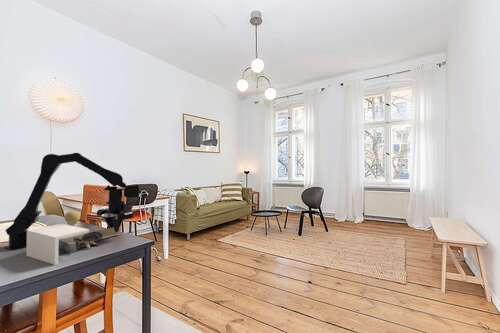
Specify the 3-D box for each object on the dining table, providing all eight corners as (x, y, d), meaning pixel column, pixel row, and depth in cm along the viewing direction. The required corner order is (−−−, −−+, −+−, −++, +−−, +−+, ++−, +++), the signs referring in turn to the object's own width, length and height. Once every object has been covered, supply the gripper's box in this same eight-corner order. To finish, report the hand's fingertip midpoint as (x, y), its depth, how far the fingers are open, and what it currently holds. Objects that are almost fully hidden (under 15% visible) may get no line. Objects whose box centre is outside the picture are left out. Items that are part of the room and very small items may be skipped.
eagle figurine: (84, 250, 94) (106, 240, 102) (75, 234, 95) (98, 225, 103) (76, 257, 98) (98, 246, 106) (67, 241, 98) (90, 232, 106)
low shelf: (26, 255, 91) (26, 230, 91) (60, 246, 101) (61, 223, 101) (54, 264, 83) (55, 237, 83) (88, 253, 94) (89, 229, 94)
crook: (59, 248, 99) (59, 239, 99) (117, 233, 119) (117, 226, 119) (70, 253, 94) (70, 244, 94) (129, 236, 114) (129, 229, 114)
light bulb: (71, 232, 120) (72, 212, 120) (61, 231, 121) (61, 211, 121) (83, 229, 126) (83, 210, 126) (72, 228, 128) (73, 209, 128)
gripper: (143, 198, 120) (142, 230, 120) (117, 195, 128) (116, 225, 128) (123, 201, 110) (122, 236, 110) (96, 198, 118) (95, 230, 118)
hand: (114, 231), depth 117 cm, fingers closed on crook, 3 cm apart
